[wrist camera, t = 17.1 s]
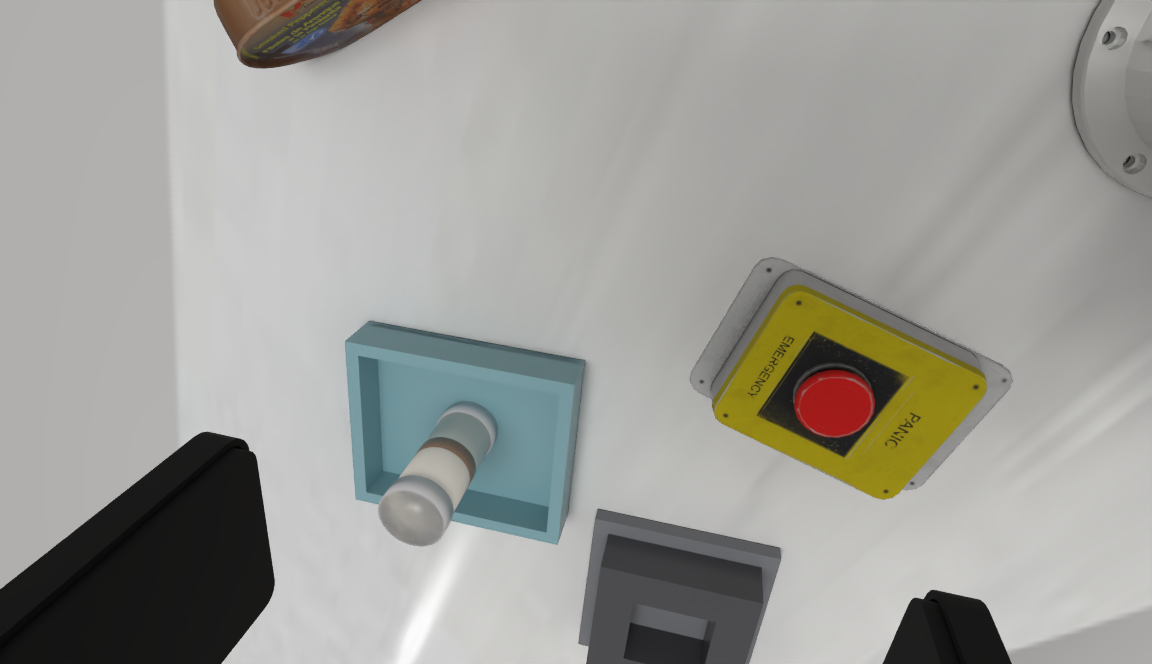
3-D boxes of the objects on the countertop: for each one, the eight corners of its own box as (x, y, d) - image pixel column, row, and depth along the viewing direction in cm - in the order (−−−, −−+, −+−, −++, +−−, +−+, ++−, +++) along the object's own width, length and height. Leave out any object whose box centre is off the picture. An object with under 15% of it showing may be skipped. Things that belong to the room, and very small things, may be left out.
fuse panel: (780, 548, 43) (784, 595, 40) (742, 672, 49) (743, 723, 45) (598, 508, 45) (586, 551, 42) (581, 632, 50) (569, 679, 47)
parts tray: (584, 360, 40) (574, 384, 38) (567, 514, 46) (557, 544, 43) (369, 320, 43) (344, 341, 40) (376, 472, 48) (355, 499, 45)
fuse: (499, 407, 43) (445, 498, 35) (496, 456, 44) (444, 553, 36) (442, 396, 43) (376, 482, 35) (442, 444, 45) (379, 537, 37)
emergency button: (766, 276, 32) (1051, 413, 32) (763, 247, 36) (1017, 369, 36) (678, 419, 36) (928, 540, 36) (684, 380, 40) (910, 489, 40)
